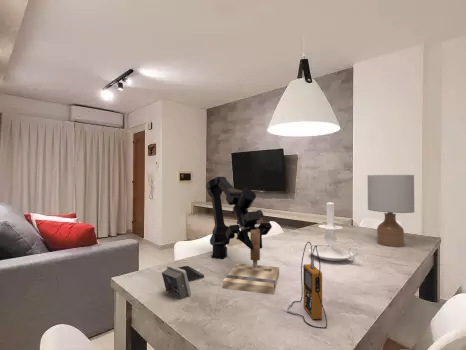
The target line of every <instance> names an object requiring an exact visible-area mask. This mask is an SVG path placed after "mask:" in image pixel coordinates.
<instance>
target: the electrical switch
mask: <svg viewBox="0 0 466 350" xmlns="http://www.w3.org/2000/svg"><path fill="white" fill-rule="evenodd" d="M161 276H162V280H163V284H164V287H165V291H166V293H168V294H169V295H171V296H174V297H176V298H178V299H180V300H182V299H184V298H185V297H186V296H188V297H190V296H191V295H192V291H191V286H190V282H188V278H187V273H186V271H185V270H183V269H180V268H178V267H176V266H173V265H171V264H169V265H167V266H166V269H165V270H164V271H162V272H161Z"/></svg>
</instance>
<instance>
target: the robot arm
mask: <svg viewBox="0 0 466 350" xmlns="http://www.w3.org/2000/svg"><path fill="white" fill-rule="evenodd" d="M205 188H206V190H207V194H208V196H209V197H210V198H211V203H212V213H213V219H214V220H213V221H214V227H213V229H212V230H211V231H212V234H211V237H210V239H209V244H210V245H211V246H212V256H211V258H212V259H221V260H222V259H223V260H224V259H225V258H226V257H227V256H228V247H227V245H229V244H230V240H231V239H234V238H235V237H236V240H239V241H240V242H241V243H242V244H244V245H245V246H246V247H247V248H248V249H251V250H253V245H252V243H251V237H249V236H250V235H249V233H251V229H259V230H260V250H261V249H263V236H264V235H265V236H266V235H267V234H268V233H270V230H271V229H272V227H273V225H272V224H271V222H269V221H264V222H263V221H262V222H260V223H259V225H258V226H257V224H258V221H260V220H261V219H262V218H264V213H263V211H262V209H257V210H255V211H254V210H253V211H249V209H250V208H251V206H252V205H253V203H254V202H255V200H256V197H257V195H256V193H255V192H254V191H253V190H251V189H249V188H248V187H243V189H242V190H239V189H236V188H235V187H234V186H232V184H231V183H230V182H229V181H228V180H227V177H226V176H215V177H214V178H213V179H209V180H208V181H207V182H206V185H205ZM223 193H224V195H225V196H226V197H225V200H226V202H227V205H229V206H233V208H232V210H231V211H232V213H231V214H232V215H233V214H234V215H235V218H236V224H230V225H229V226H228V225H226V223H225V218H224V213H223V212H224V210H223V205H222V204H223V203H222V198H221V196H222V194H223Z"/></svg>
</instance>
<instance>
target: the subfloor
mask: <svg viewBox="0 0 466 350" xmlns="http://www.w3.org/2000/svg"><path fill="white" fill-rule="evenodd" d="M279 275H280V267H279V266H268V265H259V264H257V267H253V264H250V263H241V262H239V263H236V264H235V265H234V266H233V268H232V269H231V270H230V271H229V272H228V274H227V275H226V276H225V277H224V279H223V280H222V289H229V290H237V291H244V292H245V291H246V292H251V293H259V294H260V293H261V294H266V295H268V294H269V295H274V294H275V293H274V292H275V289H276V287H277V282H278V279H279Z"/></svg>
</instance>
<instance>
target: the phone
mask: <svg viewBox="0 0 466 350" xmlns="http://www.w3.org/2000/svg"><path fill="white" fill-rule="evenodd" d="M177 268H180V269H183V270H185V271H186V273H187V278H188V282H189V283H191V282H194V281H198V280H201V279H204V278H205V274H203V273H201V272H200V271H198V270H196V269H195V268H193V267H191V266H189V265H183V266H180V267H179V266H178V267H177Z"/></svg>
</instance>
